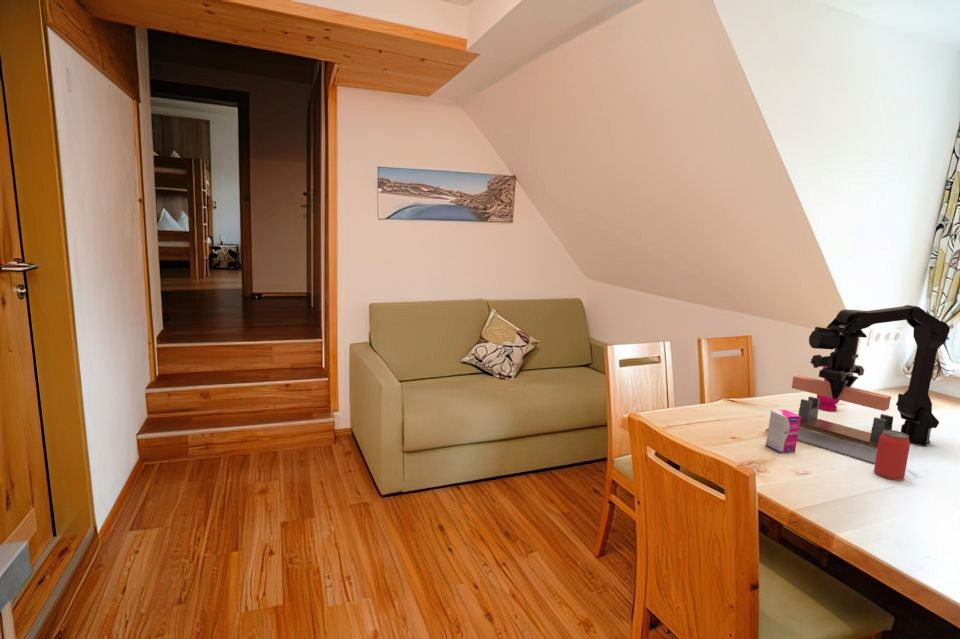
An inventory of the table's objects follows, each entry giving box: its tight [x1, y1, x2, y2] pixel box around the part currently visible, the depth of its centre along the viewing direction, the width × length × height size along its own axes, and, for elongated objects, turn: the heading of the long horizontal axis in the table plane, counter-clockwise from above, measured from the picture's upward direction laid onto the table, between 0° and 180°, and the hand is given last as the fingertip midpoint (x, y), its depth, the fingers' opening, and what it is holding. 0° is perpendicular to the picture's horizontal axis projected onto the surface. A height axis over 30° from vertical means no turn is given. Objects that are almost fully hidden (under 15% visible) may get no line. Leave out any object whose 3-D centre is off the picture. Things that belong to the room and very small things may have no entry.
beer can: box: [873, 429, 911, 481], centre depth 142 cm, size 7×7×12 cm
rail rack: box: [797, 396, 894, 449], centre depth 173 cm, size 28×10×9 cm, turn 37°
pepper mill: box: [816, 366, 840, 412], centre depth 199 cm, size 7×7×20 cm
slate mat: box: [765, 427, 877, 465], centre depth 165 cm, size 30×12×1 cm, turn 37°
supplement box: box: [765, 409, 801, 454], centre depth 158 cm, size 6×6×12 cm
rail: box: [791, 374, 892, 412], centre depth 167 cm, size 26×4×4 cm, turn 36°
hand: (837, 397), depth 168 cm, fingers closed on rail, 4 cm apart
